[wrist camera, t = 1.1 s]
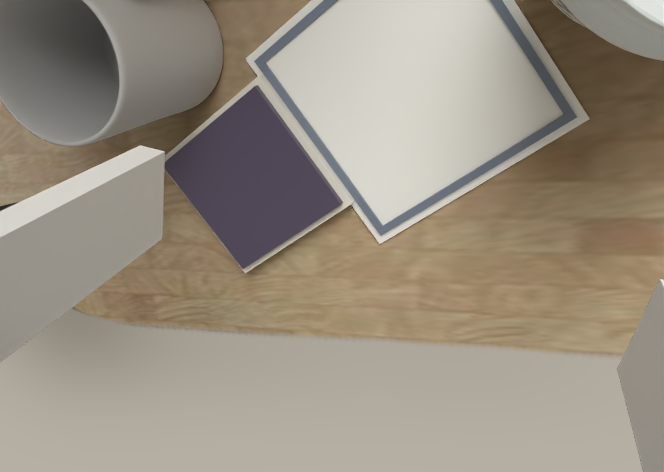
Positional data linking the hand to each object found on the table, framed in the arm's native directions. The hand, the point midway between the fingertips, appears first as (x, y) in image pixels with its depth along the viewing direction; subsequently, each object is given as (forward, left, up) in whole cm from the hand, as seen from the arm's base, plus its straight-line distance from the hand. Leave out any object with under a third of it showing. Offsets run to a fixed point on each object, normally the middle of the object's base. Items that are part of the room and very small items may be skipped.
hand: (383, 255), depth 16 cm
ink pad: (-4, -14, -22) cm, 27 cm away
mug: (-15, -12, -23) cm, 29 cm away
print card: (-3, -2, -22) cm, 23 cm away
